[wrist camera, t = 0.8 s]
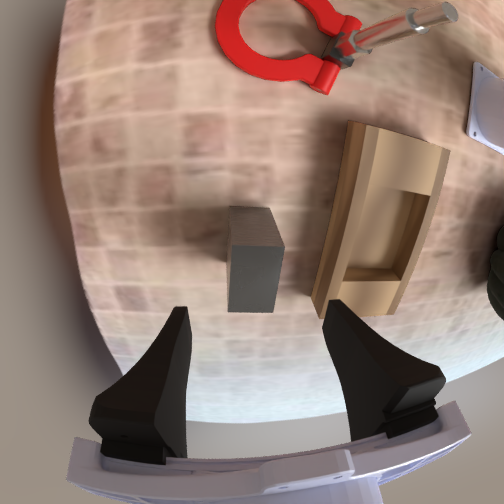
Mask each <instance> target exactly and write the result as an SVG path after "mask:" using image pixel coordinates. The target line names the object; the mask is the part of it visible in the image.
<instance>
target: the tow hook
mask: <svg viewBox="0 0 504 504" xmlns="http://www.w3.org/2000/svg"><path fill="white" fill-rule="evenodd" d="M254 1H256V0H223V1H222V3H221V5H220V7H219V9H218V11H217V15H216V22H215V29H216V34H217V39H218V42H219V44H220V46H221V48H222V50H223V52H224V54H225V55H226V56H227V57H228V58H229V59H230V60H231V61H232V62H233V63H234V64H235V65H236V66H237V67H239V68H240V69H242V70H244V71H245V72H247V73H248V74H250V75H253V76H256V77H259V78H262V79H264V80H272V81H280V82H284V81H294V80H301V81H303V82H305V83H307V84H309V85H310V87H311V88H312V89H314V90H315V91H317V92H319V93H322V94H325V95H328V94H329V92H330V90H331V88H332V86H333V84H334V81H335V79H336V77H337V75H338V73H339V71H340V70H341V69H344V68H347V67H351V66H352V64H353V62H354V59H355V58H358V57H361V56H365V55H368V54H370V53H371V51H372V49H373V48H376V47H379V46H382V45H385V44H388V43H392V42H395V41H399V40H402V39H406V38H409V37H413V36H417V35H421V34H425V33H427V32H428V31H429V28H430V27H433V26H437V25H441V24H446V23H450V22H455V21H457V20H458V13H457V11H456V9H455V8H454V7H453V5H451V4H450V3H448V2H442V3H439V4H436V5H433V6H430V7H427V8H424V9H421V10H418V9H416V8H409V9H406V10H404V11H402V12H399V13H397V14H395V15H392V16H390V17H388V18H386V19H384V20H381V21H379V22H377V23H375V24H373V25H371V26H369V27H367V28H365V29H363V30H361V31H360V28H361V26H362V23H361V21H359V20H358V19H357V18H355V17H353V16H349V15H345V16H343V15H341V14H340V13H338V12H336V11H335V10H334V8H333V6H332V5H331V4H330V2H329V1H328V0H296V1H298V2H300V3H301V4H303V5H304V6H306V7H307V8H308V10H309V11H310V12H311V13H312V14H313V16H314V18H315V19H316V21H317V26H318V29H319V30H320V31H322V32H324V33H326V34H327V35H329V36H331V37H332V38H331V39H330V41H329V43H328V45H327V47H326V49H325V51H324V53H323V55H322V57H321V59H320V58H318V57H316V56H314V55H312V54H305V55H304V56H302V57H299V58H296V59H292V60H276V59H270V58H267V57H265V56H262V55H260V54H258V53H257V52H255V51H253V50H252V49H251V48H250V47H249V46H248V45H247V44H246V43H245V42H244V40H243V38H242V37H241V35H240V32H239V27H238V24H239V18H240V16H241V14H242V12H243V10H244V9H245V8H246V7H247V6H248V5H249V4H251V3H252V2H254Z"/></svg>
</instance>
